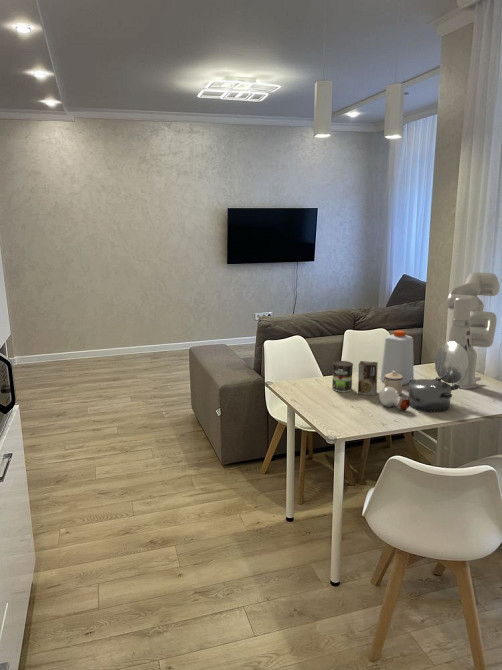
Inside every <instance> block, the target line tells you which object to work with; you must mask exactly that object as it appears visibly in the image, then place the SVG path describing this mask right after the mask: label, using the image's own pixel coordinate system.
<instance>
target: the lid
mask: <svg viewBox="0 0 502 670" xmlns="http://www.w3.org/2000/svg"><path fill="white" fill-rule="evenodd" d="M434 367H435V372H436V374H437V377H438V378H440V379H441V381H442V382H445V383H447V384H452V383H457V382H459V381H461V380H462V379H463V378H464V377H465V375H466V373H467V371H468V367H469V357H468V353H467V351H466V349H465V348H464V347H463V346H462V345H461V344H459V343H457V342H449V341H447V342H444V343H443V344H442V345H441V346H440V347H439V348H438V350H437V352H436V355H435V358H434Z"/></svg>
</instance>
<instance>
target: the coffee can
mask: <svg viewBox="0 0 502 670" xmlns="http://www.w3.org/2000/svg"><path fill="white" fill-rule="evenodd" d="M353 365H354V363H353V362H351V361H347V360H337V361H333V363H332V382H331V383H332V385H331V386H332V388H331V389H332V390H333V391H334V390H335V391H334V392H337V391H338V393H348V392H351V391H352V390H353V389H352V388H353V386H352V385H353V369H354V368H353Z"/></svg>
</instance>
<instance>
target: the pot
mask: <svg viewBox="0 0 502 670" xmlns="http://www.w3.org/2000/svg"><path fill="white" fill-rule="evenodd" d="M458 389H461V388H460V386H459V385H456V384H454V386H453V385H451V384H450V383H446V382H444V381H443V380H442V379H441V378H440V377H439V376H436V378H433V379H428V378H427V379H426V378H425V379H424V378H421V379H420V378H419V379H415V378H414V379H413V380H410V383H408V399H407V400H409V401H410V406H409V407H410V408H412V409H414V410H417V411H419V412H425V413H443V412H447V411H448V410H450V408H451V398H452V397H453V394H452V391H455V390H458Z"/></svg>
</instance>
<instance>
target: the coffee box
mask: <svg viewBox="0 0 502 670" xmlns="http://www.w3.org/2000/svg"><path fill="white" fill-rule="evenodd" d="M378 364H379V363H378V362H377V361H365V360H360V361H359V363H358V376H357V377H358V379H357V380H358V381H357V395H366V396H374V397H375V396H377V393H378V391H377V390H378V369H379V368H378V366H379V365H378Z"/></svg>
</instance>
